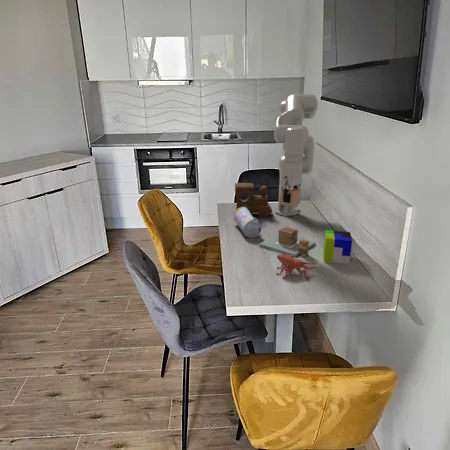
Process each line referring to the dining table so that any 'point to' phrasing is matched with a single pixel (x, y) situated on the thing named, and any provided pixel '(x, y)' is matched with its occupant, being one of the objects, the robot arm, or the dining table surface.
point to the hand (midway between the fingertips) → (290, 200)
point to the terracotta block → (292, 197)
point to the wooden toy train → (253, 199)
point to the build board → (283, 246)
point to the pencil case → (247, 222)
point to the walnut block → (288, 236)
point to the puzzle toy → (337, 246)
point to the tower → (303, 247)
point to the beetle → (292, 265)
